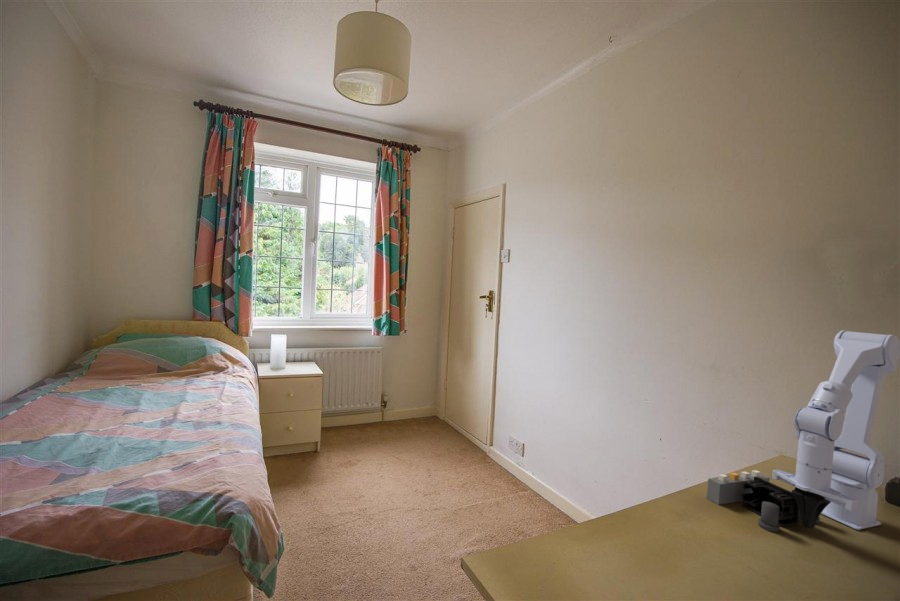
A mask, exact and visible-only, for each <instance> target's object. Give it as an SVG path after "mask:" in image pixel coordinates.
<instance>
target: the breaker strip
mask: <svg viewBox="0 0 900 601" xmlns="http://www.w3.org/2000/svg"><path fill="white" fill-rule="evenodd" d="M754 477H759V478H761V479H764V480H766V481H768V482H770V480H771V479H770V478H771V477H769V476H767V475H765V474H762V472H761V471H759V470H757V469H755V470H751V472H747V471H745V470H744V471H740V474H738V473H736V472H731V473H729V475H726V474H724V473H721V474H718V476H717V477H711V478H710V477H709V478H707V479H708V480H707V490H706V491H707V492H706V499H707V500H708V501H710V502H713V503H714V504H716V505H725V504H731V503H737V502H744V501H743V500H742V493H749V492H751V490H752V489H751V488H747V489H744V488H743V483H744V482H747V481H754Z"/></svg>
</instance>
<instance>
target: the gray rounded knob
mask: <svg viewBox="0 0 900 601" xmlns="http://www.w3.org/2000/svg"><path fill="white" fill-rule="evenodd" d="M779 509H780V507H779V506H778V505H776V504H774V503H771V502H766V501H763V502H762V510H761V516H760V518H759V519H758V523H757V524H758V526H759V527H760V528H762V529H763V530H766V531H768V532H771V533H779V532H780V527H781V526H779V525H778V519H779Z"/></svg>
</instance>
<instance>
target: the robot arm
mask: <svg viewBox="0 0 900 601" xmlns="http://www.w3.org/2000/svg"><path fill="white" fill-rule="evenodd" d="M833 348H834V353H835V356H836V360H835V364H834V365H833V369H832V370H831V373H830V376H829V379H828V380H826V381H825V380H824V381H822V382H820V383H818V386H817V388H816V390H814V392H813V395H812V396H811V398H810V400H809V401H808V404H807V405H806V406H804V407H800V408H799V409H798V410H797V411H796V413H795V416H794V419H793V420H794V422H793V423H794V428H795V437H796V439H797V440H798V445H797V455H796V464H795V465H796V466H795V474H793V473H789V472H788V471H787V472H786V471H783V470H781V469H773V470H772V474H771V478H772V479H773V480H776V481H781V482H783V483H786V484H788V485H790V486H792V487H795V488H794V489H792V490H791V492H792V495H793V497H794V499H795V501H796V503H797V506H798V508H799V512H800V515H801V520H802V521H801V525H802V526H803V527H805V528H807V529H813V528H815V525H817V524H816V521H817V519H818V517H819V518H820V515H823V516H826V517H828V518H830V519H832V520H834V521H836V522H839V523H840V524H841V523H842V524H844V525H845V526H848V527H850V528H852V529H854V530H858V531H859V530H863V529H869V528H873V527H877V526H881V525H882V523H881V521H879V520H877V513H878V512H877V511H878V504H879V502H878V501H879V494H878V492H877V490H876V489H877V488H879V487H881V485H882V483H883V482H884V479H885V475H886V474H885V473H886V472H885V471H886V470H885V460H886V459H885V456H884V455H883V454H882V453H881V452H880V451H879V450H878V449H877V448H876V447H875V446H874V445H872V444H871V439H872V436H873V429H874V426H875V421H876V416H877V413H878V412H877V411H878V405H879V402H880V397H881V392H882V389H883V388H882V387H883V383H884V381H885V380H884V379H885V377H886V375H889V374H892V373H895V372H896V370H897V367H898V365H899V359H900V339H899V338H898V337H897V335H894V334H882V333H870V332H861V331H860V332H859V331H848V330H845V329H844V330H843V329H842V330H840V331H839V332H838V333H837V334H836V335H835V336H834V339H833ZM850 388H851V389H850ZM845 412H846V413H845ZM844 415H845V416H844ZM845 450H847V451H845ZM849 451H851V452H849ZM852 452H854V453H852ZM856 453H858V454H861V455H858V454H856ZM862 455H864V456H862Z"/></svg>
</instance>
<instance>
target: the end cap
mask: <svg viewBox="0 0 900 601" xmlns="http://www.w3.org/2000/svg"><path fill="white" fill-rule="evenodd" d="M743 488H744V489H747V488H751V489H752V490H751V492H749V493H742V500H743V501H742V502H743V503H742V506H743V507H744V508H746V509H747V510H749V511H751V512H753V513H755V514H757V515H758V516H760V517H761V510H762V502H763V501H766V502H771V503H774V504H776V505H778V506H779V507H780V509H779V519H778V525H779V526H780V527H782V528H785V527H791V526H795V525H797V524H798V523H800V522H801V523H802V520H801V515H800V512H799V508H798V506H797V503H796V501H795V499H794V497H793V495H792V491H790V490H788V489H786V488H783V487H782V486H779V485H776V484H774V483H772V482H770V481H769V482H768V481H766V480H764V479H761V478H759V477H754V481H747V482H744V483H743Z"/></svg>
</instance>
